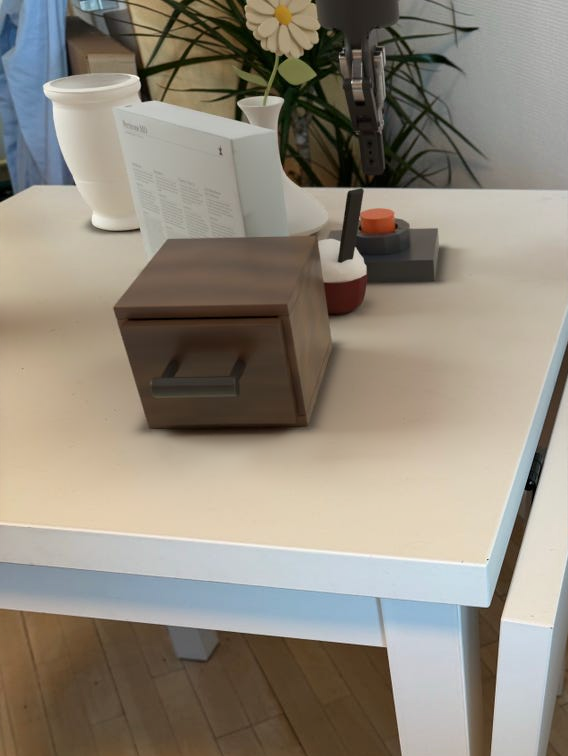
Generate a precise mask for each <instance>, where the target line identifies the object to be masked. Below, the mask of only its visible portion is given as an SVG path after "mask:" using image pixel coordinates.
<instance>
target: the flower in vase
mask: <svg viewBox="0 0 568 756" xmlns="http://www.w3.org/2000/svg"><path fill="white" fill-rule="evenodd" d="M245 1H246V5H245V6H244V11H245V19H246V22H245V25H246V27H247V29H248V30H249V31H252V34H253V37H254V39H256V40H257V41H260V46H261V48H262V49H263V50H264V51H269V52H270V53H274V54H275V61H274V65H273V70H272V72H271V76H270V78H269V81H268V83H267V82H266V80H265V79H264V78H263V77H262V76H259V75H257V74H253V73H249V72H246V71H244V70H242V69H240V68H238V67H237V66H235V65H234V64H231V66H232V69H233V71H234V73H235V74H236V75H237V76H238V77H239V78H241V79H243V80H245V81H247V82H250V83H254V84H257V85H260V86H264V87H266V89H265V92H264V95H260V96H257V95H256V96H252V97H245V98H242V99H240V100H238V101H237V102H236V104H237V106H238V108H240V110H241V111H242V112H243V113H244V115H245V116H246V118H247V120H248V122H249V124H251V125H255V126H259V127H262V128H266V129H271V130H275V131H276V138H277V146H278V153H279V161H280V168H281V176H282V183H283V191H284V198H285V206H286V213H287V221H288V229H289V236H312V235H314V234H316V233H317V232H319V231H321V230H322V229H323V228H325V226H326V225H327V223H328V221H329V219H330V216H329V212H328V211H327V208H326V207H325V205H323V204H322V203H321V202H320V201H319V200H318V199H317V198H316V197H315V196H314V195H312V194H311V193H309V192H308V191H306V190H305V189H303V188H302V187H300V186H299V185H298V184H296V183H295V182H294V181H292V179H290V177H288V176H287V174H286V172H285V170H284V168H283V165H282V162H281V156H280V149H279V139H278V138H279V136H278V126H279V125H278V123H279V117H280V113H281V110H282V107H283V105H284V103H285V99H284V98H283V97H282V96H281V97H280V96H276V95H275V96H273V95H269V93H270V90H271V87H272V85H273V82H274V79H275V77H276V74H277V72H278V73H279V75H280V76H281V77H282V78H283V79H284V80H285V81H286V82H287V83H288V84H291V85H293V86H299V85H302V84H304V83H306V82H309V81H311V80H312V79H314V78H315V77H317V73H316V71H315V70H313V68H312V67H311V66H310V65H309V64H307V63H306V62H305V61H303V60H302V59H300V57H302V56H304V54H305V50H306V51H310V50H312V49H313V47H314V45H317V44H318V43H319V41H320V38H319V33H318V32H317V31H318V30H320V29H321V25H320V24H319V22H318V17H317V9H316V3H313V2H312V0H245ZM283 55H285V57H287V59H285V60H284V61H283V62H282V63H280V64H279V60H280V57H282V56H283Z"/></svg>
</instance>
